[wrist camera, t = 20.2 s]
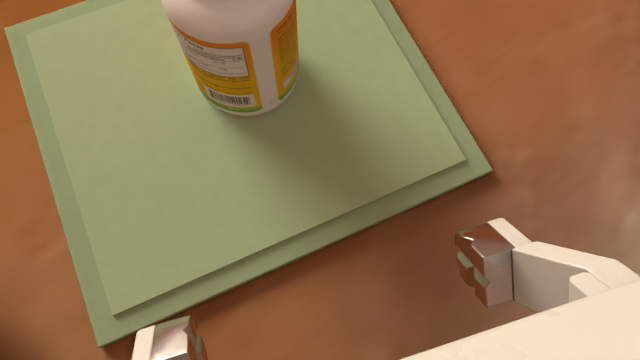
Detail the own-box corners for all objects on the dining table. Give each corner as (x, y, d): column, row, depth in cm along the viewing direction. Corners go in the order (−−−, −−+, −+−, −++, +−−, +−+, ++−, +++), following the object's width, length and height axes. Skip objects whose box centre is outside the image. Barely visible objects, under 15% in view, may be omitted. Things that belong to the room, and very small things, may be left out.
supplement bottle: (270, 14, 27) (249, -161, 18) (318, 90, 25) (321, -58, 16) (179, 54, 26) (107, -108, 17) (223, 136, 24) (170, 6, 15)
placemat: (337, -80, 30) (337, -87, 29) (490, 172, 25) (494, 169, 24) (8, 32, 27) (2, 26, 26) (101, 347, 22) (96, 347, 21)
